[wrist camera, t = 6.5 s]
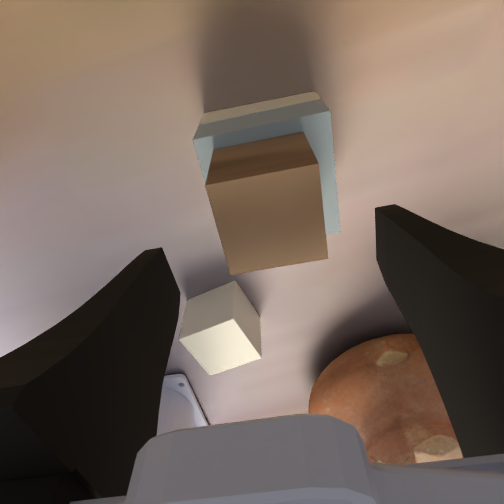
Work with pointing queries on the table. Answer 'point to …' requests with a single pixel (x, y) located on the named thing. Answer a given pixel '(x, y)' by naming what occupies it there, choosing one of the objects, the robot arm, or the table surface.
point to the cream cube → (221, 329)
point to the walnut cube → (268, 203)
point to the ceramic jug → (388, 401)
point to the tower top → (273, 125)
